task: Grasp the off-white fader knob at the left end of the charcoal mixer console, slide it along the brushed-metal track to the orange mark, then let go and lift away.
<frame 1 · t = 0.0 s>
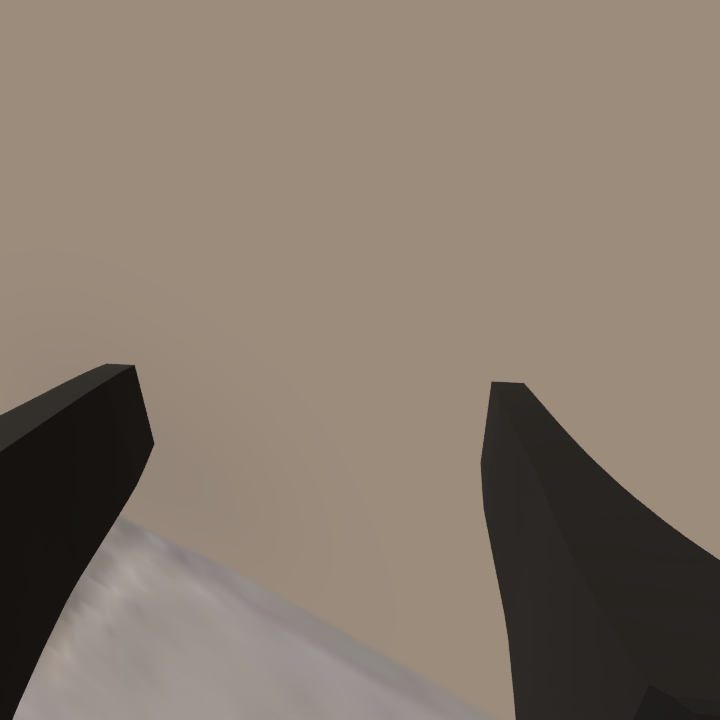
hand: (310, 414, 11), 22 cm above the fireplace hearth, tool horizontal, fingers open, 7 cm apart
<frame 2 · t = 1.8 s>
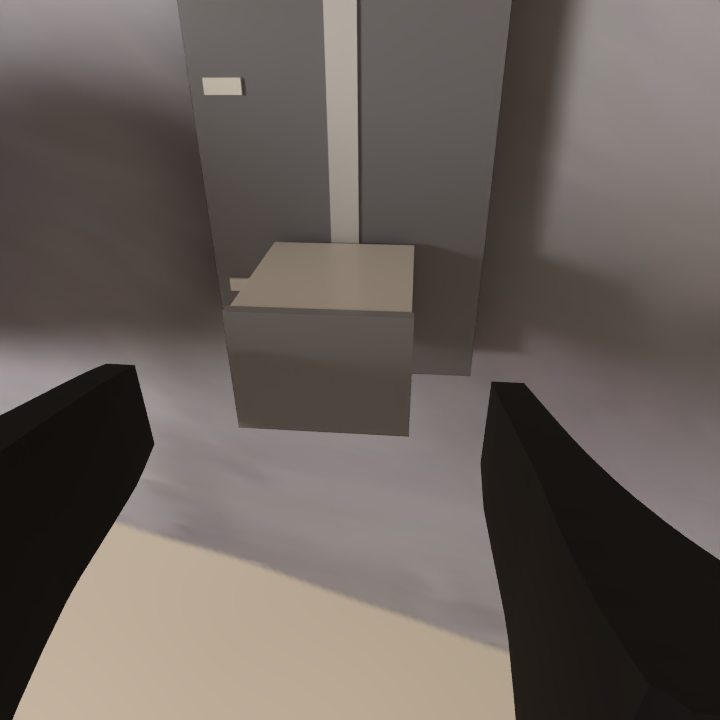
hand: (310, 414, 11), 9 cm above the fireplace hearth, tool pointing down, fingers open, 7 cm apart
console: (349, 18, 15), on the fireplace hearth
fader: (334, 328, 14), point 5 cm above the fireplace hearth, slide at 0.0 cm
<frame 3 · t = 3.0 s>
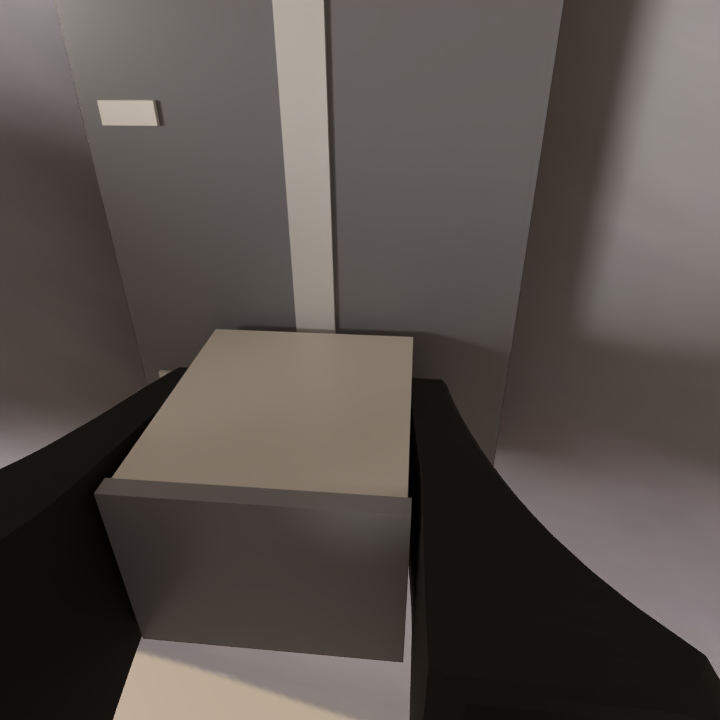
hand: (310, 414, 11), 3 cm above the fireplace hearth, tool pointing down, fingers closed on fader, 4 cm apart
console: (319, 12, 10), on the fireplace hearth
fader: (294, 470, 10), point 5 cm above the fireplace hearth, slide at 0.0 cm, touching gripper
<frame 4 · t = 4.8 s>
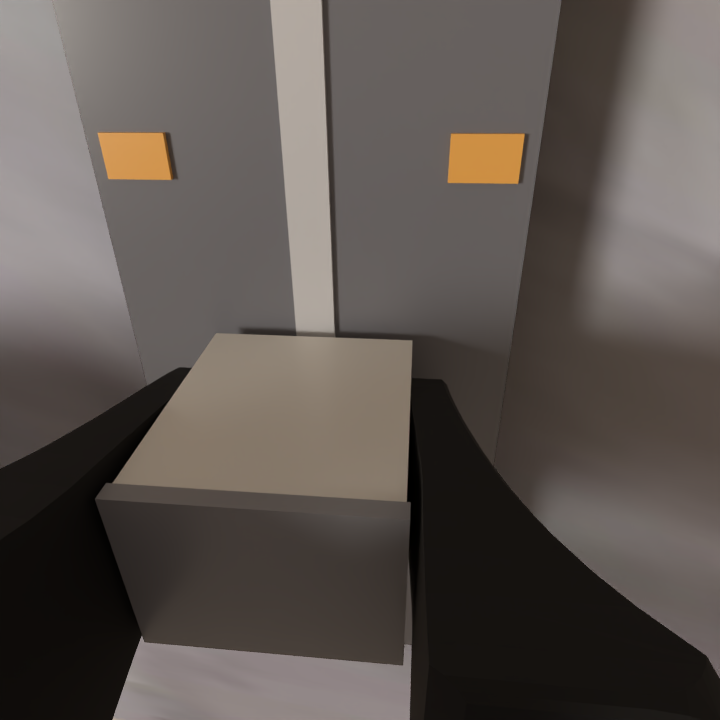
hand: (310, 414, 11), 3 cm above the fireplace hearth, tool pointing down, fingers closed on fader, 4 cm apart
console: (330, 312, 13), on the fireplace hearth
fader: (294, 473, 10), point 5 cm above the fireplace hearth, slide at 6.1 cm, touching gripper
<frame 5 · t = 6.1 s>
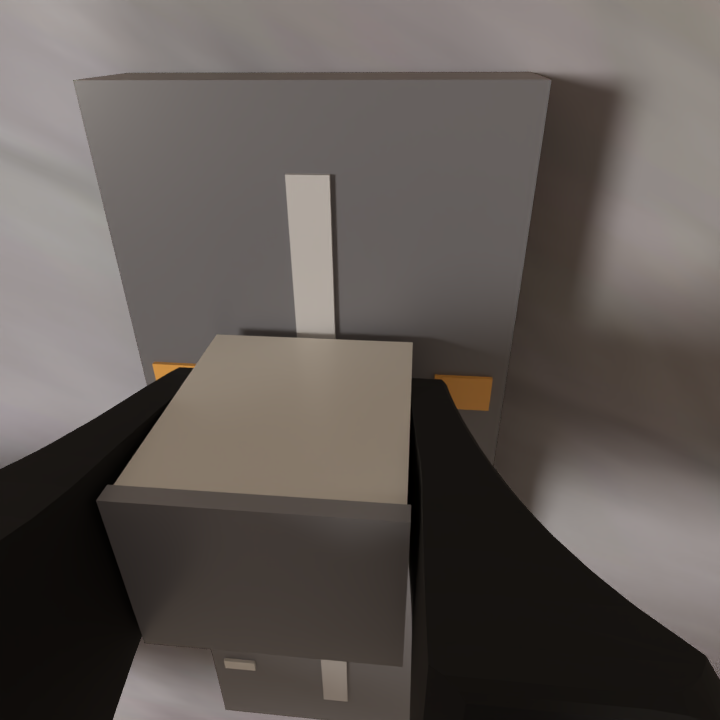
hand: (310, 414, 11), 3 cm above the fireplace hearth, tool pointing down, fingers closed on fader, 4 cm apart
console: (336, 463, 16), on the fireplace hearth
fader: (294, 475, 10), point 5 cm above the fireplace hearth, slide at 10.9 cm, touching gripper
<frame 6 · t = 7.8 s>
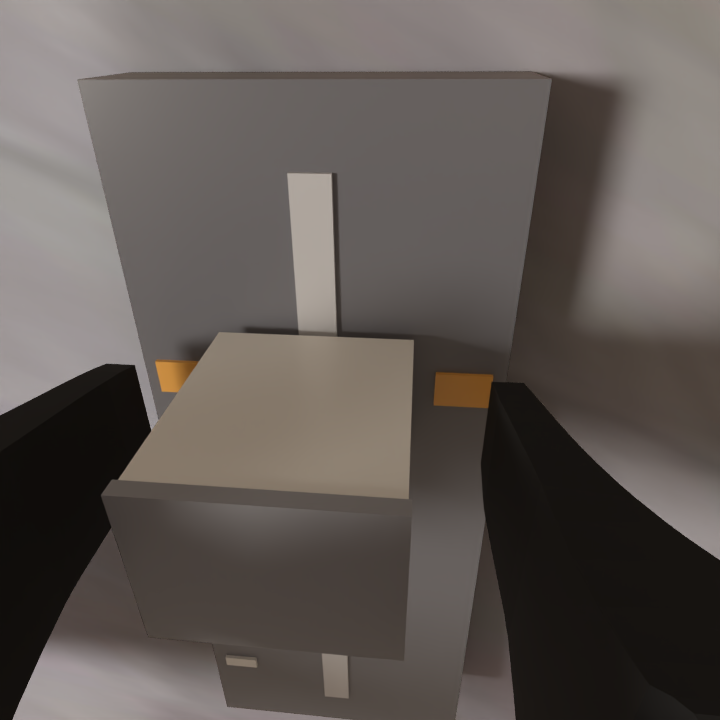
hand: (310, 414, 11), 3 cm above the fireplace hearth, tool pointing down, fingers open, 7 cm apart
console: (338, 461, 16), on the fireplace hearth
fader: (296, 471, 10), point 5 cm above the fireplace hearth, slide at 10.9 cm
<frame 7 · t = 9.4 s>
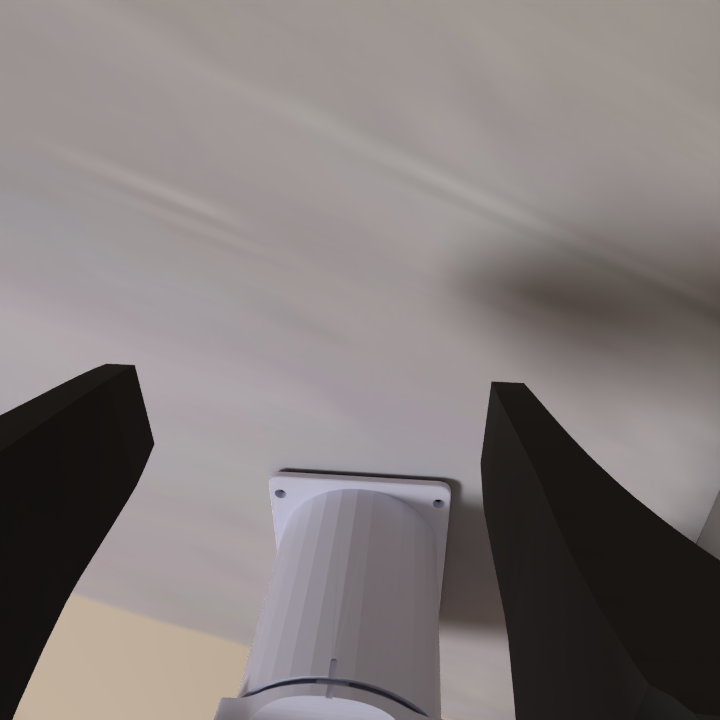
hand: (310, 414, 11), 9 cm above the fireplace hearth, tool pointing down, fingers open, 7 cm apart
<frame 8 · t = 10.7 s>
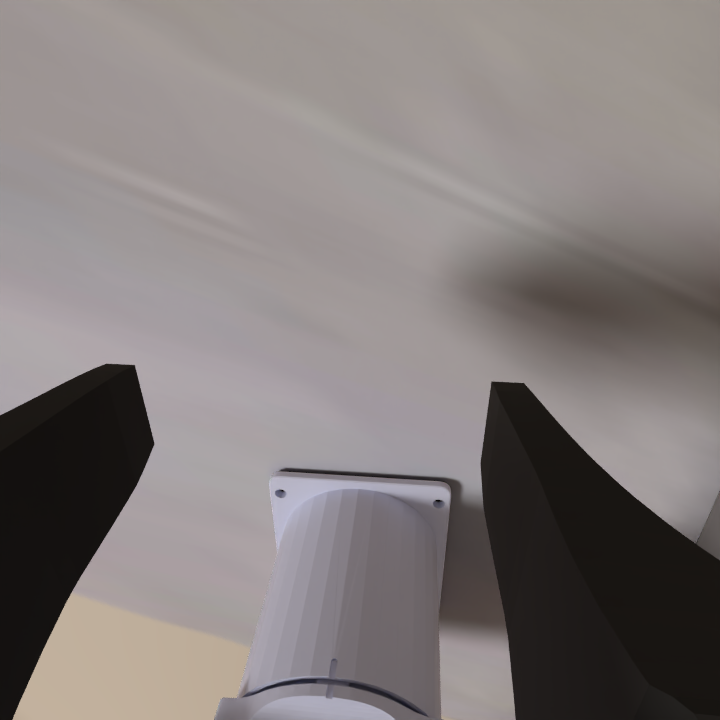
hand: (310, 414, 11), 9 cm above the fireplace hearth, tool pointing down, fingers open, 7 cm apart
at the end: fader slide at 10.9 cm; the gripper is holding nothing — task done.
